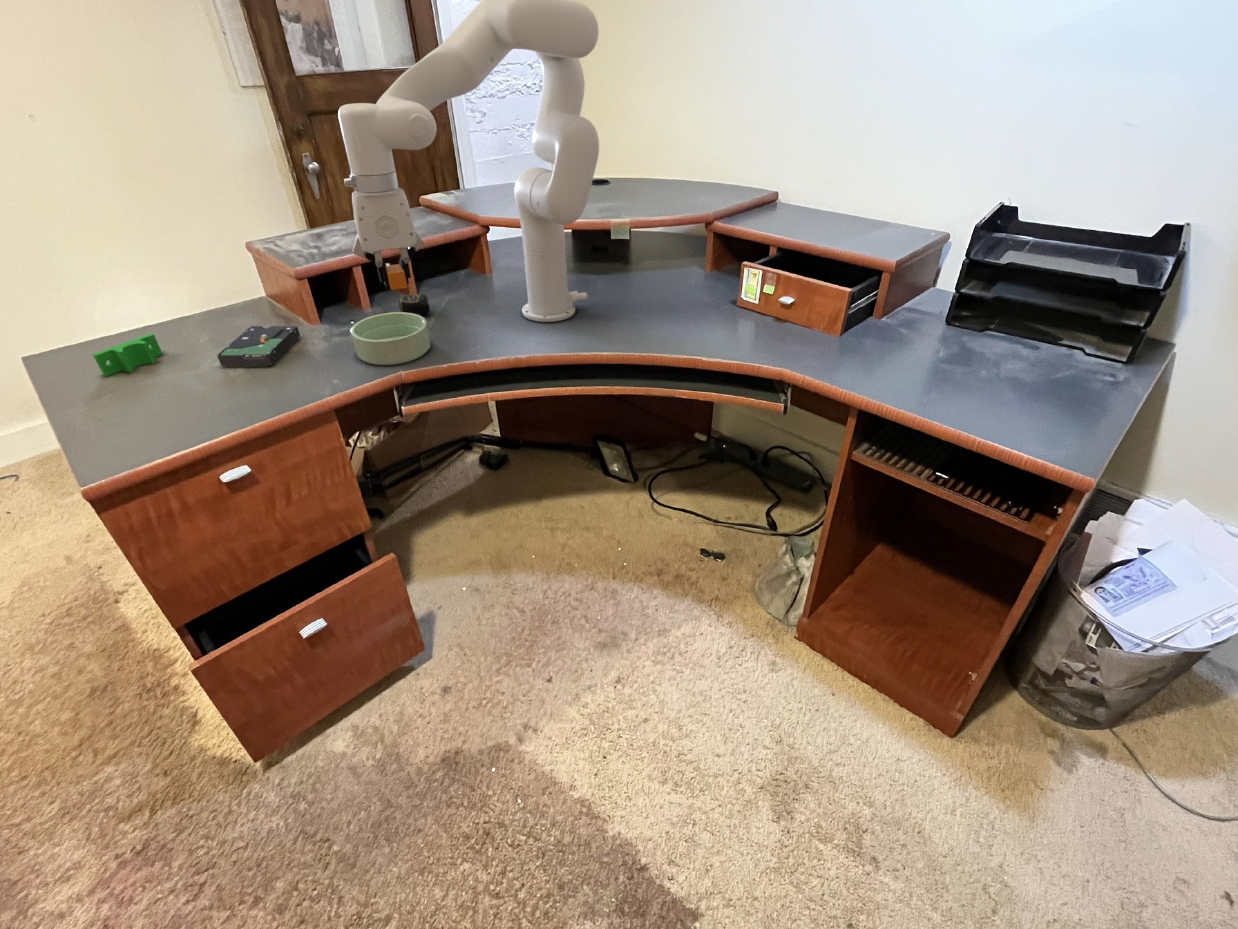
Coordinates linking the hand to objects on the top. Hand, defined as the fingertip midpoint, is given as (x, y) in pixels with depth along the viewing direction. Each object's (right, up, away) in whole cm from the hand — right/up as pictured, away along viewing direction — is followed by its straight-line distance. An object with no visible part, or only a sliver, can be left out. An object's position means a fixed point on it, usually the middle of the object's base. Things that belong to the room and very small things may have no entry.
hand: (396, 282), depth 122 cm
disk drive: (-31, -12, +9) cm, 35 cm away
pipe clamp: (-54, -16, +4) cm, 56 cm away
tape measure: (-4, 0, +27) cm, 27 cm away
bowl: (-4, -12, +9) cm, 15 cm away
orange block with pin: (-1, +1, +2) cm, 2 cm away
